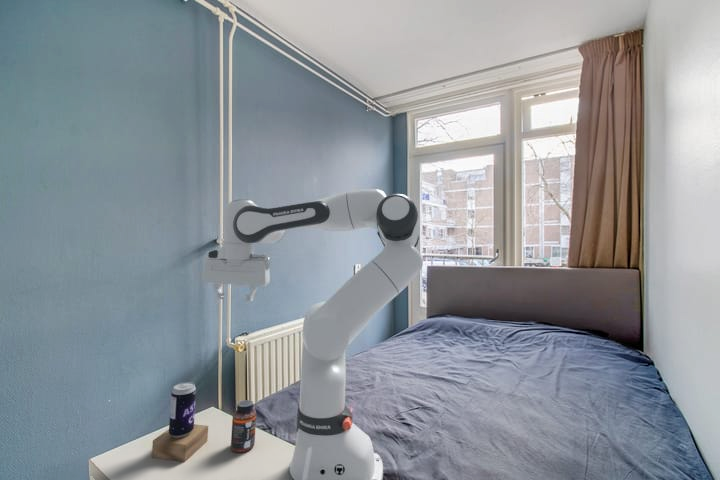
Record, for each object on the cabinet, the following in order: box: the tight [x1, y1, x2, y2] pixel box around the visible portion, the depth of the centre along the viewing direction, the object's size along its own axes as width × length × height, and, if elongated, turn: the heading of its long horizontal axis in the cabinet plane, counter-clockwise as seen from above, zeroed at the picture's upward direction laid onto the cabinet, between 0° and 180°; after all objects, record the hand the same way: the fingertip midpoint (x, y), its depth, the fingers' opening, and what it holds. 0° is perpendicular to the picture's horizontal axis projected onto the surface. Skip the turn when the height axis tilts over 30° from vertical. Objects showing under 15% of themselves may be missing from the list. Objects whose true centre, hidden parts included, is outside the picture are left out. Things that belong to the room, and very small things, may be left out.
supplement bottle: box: [230, 399, 257, 453], centre depth 85 cm, size 6×6×11 cm
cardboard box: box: [151, 423, 209, 463], centre depth 83 cm, size 9×9×4 cm
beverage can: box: [168, 381, 197, 438], centre depth 84 cm, size 6×6×12 cm
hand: (234, 299), depth 96 cm, fingers open, 8 cm apart
